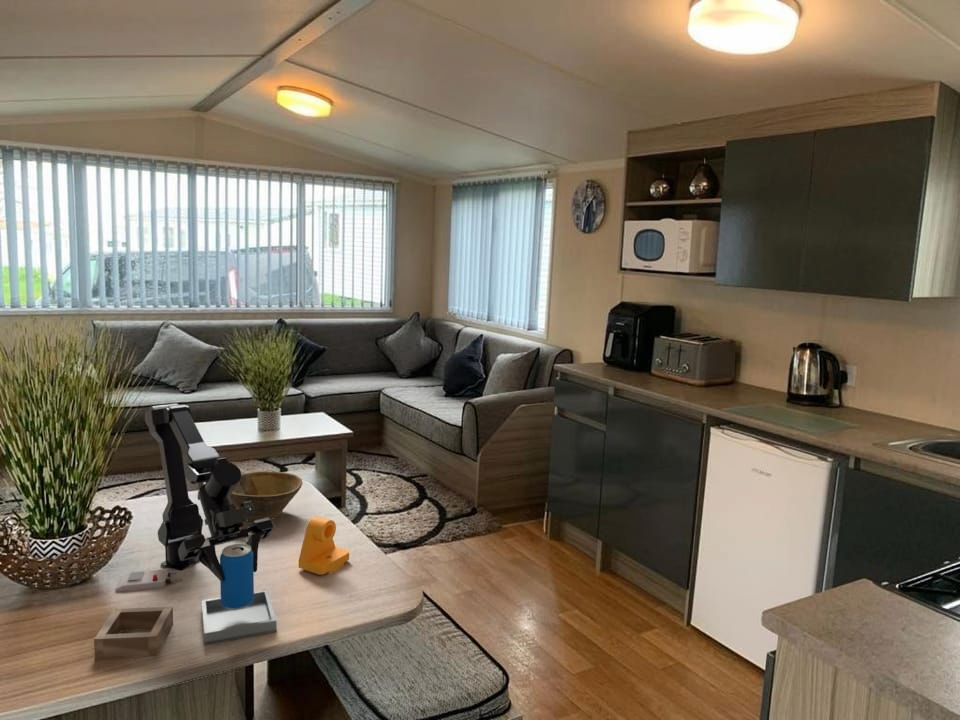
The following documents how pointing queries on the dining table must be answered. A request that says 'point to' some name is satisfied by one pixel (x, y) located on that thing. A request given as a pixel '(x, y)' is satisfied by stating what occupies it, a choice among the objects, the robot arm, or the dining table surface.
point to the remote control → (144, 580)
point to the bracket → (321, 548)
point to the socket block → (134, 644)
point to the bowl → (266, 492)
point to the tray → (237, 619)
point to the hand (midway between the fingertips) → (239, 576)
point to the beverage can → (237, 576)
